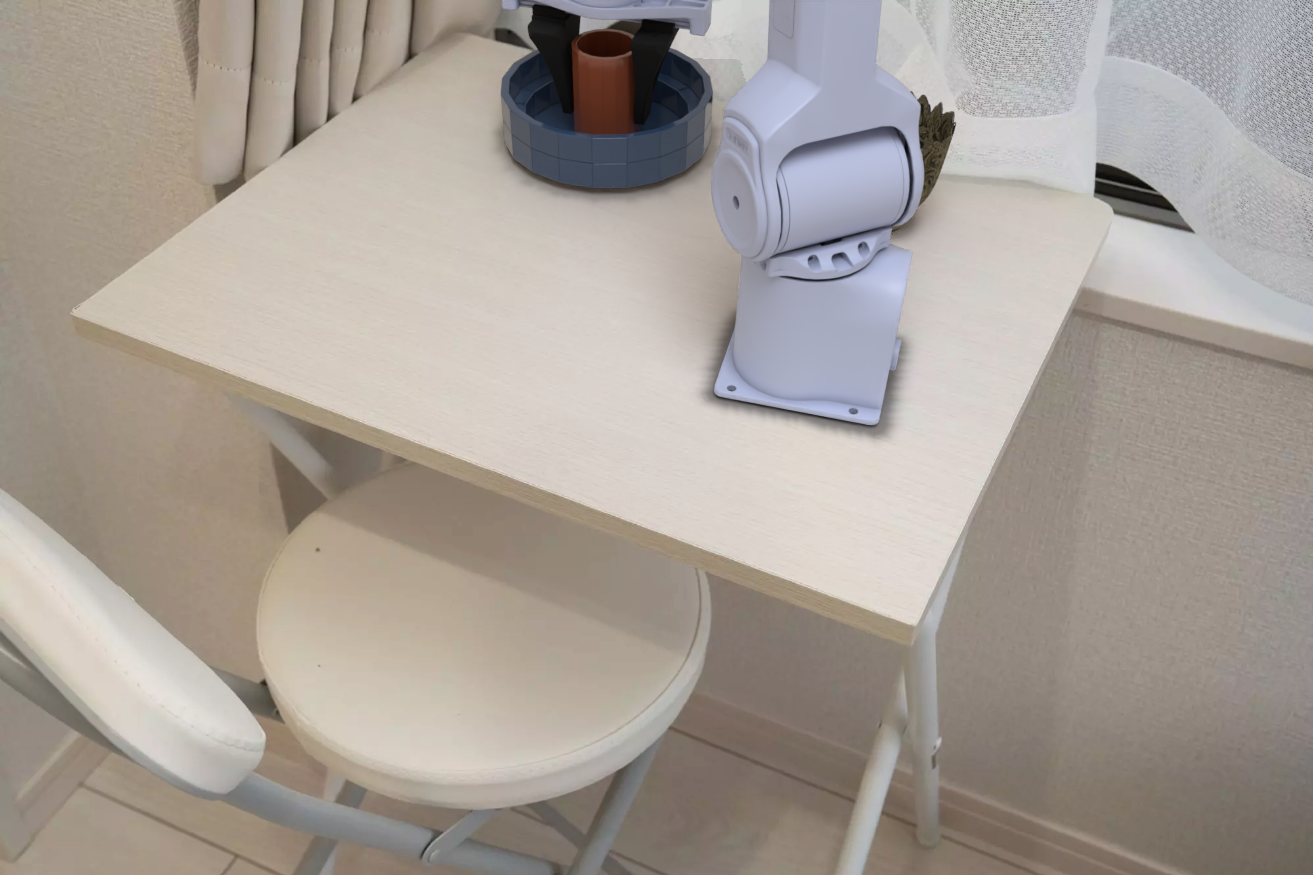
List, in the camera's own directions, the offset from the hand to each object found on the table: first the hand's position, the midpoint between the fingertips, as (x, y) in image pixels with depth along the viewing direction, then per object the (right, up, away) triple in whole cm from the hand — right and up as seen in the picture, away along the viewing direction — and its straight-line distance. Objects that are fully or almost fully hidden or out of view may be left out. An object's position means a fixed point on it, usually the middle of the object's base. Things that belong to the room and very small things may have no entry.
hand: (606, 112), depth 87 cm
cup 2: (+19, -9, -5) cm, 22 cm away
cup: (0, -1, +1) cm, 2 cm away
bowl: (0, -2, +2) cm, 2 cm away
